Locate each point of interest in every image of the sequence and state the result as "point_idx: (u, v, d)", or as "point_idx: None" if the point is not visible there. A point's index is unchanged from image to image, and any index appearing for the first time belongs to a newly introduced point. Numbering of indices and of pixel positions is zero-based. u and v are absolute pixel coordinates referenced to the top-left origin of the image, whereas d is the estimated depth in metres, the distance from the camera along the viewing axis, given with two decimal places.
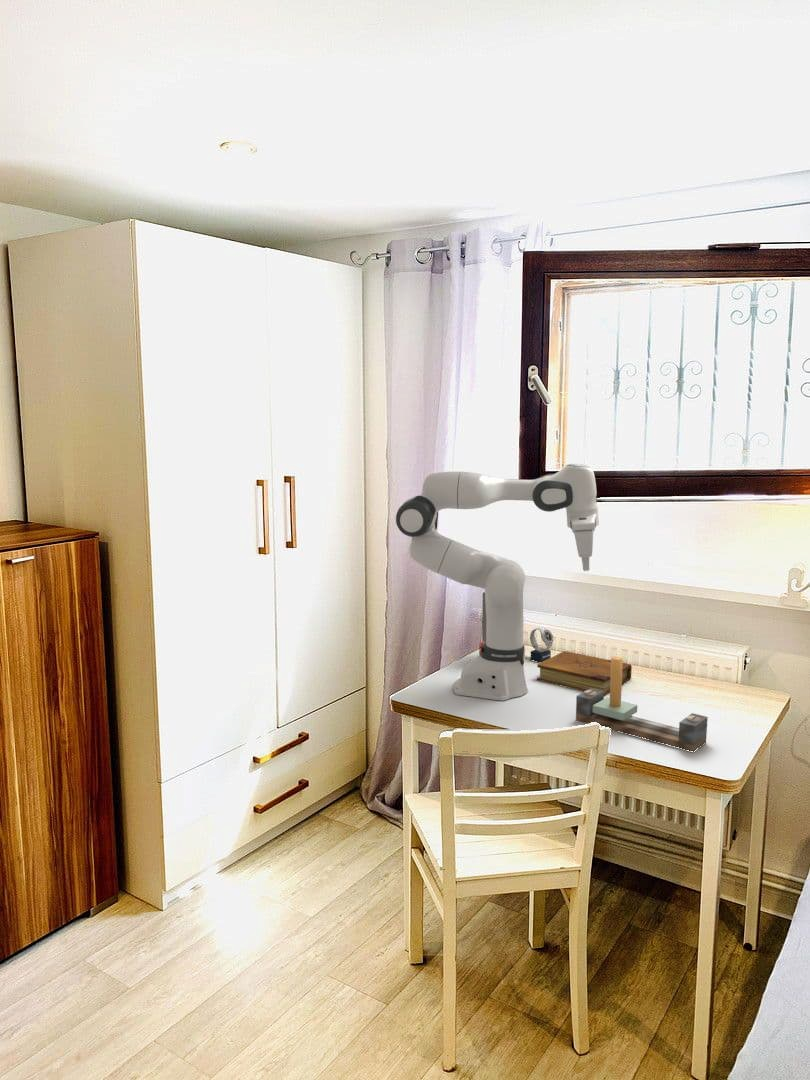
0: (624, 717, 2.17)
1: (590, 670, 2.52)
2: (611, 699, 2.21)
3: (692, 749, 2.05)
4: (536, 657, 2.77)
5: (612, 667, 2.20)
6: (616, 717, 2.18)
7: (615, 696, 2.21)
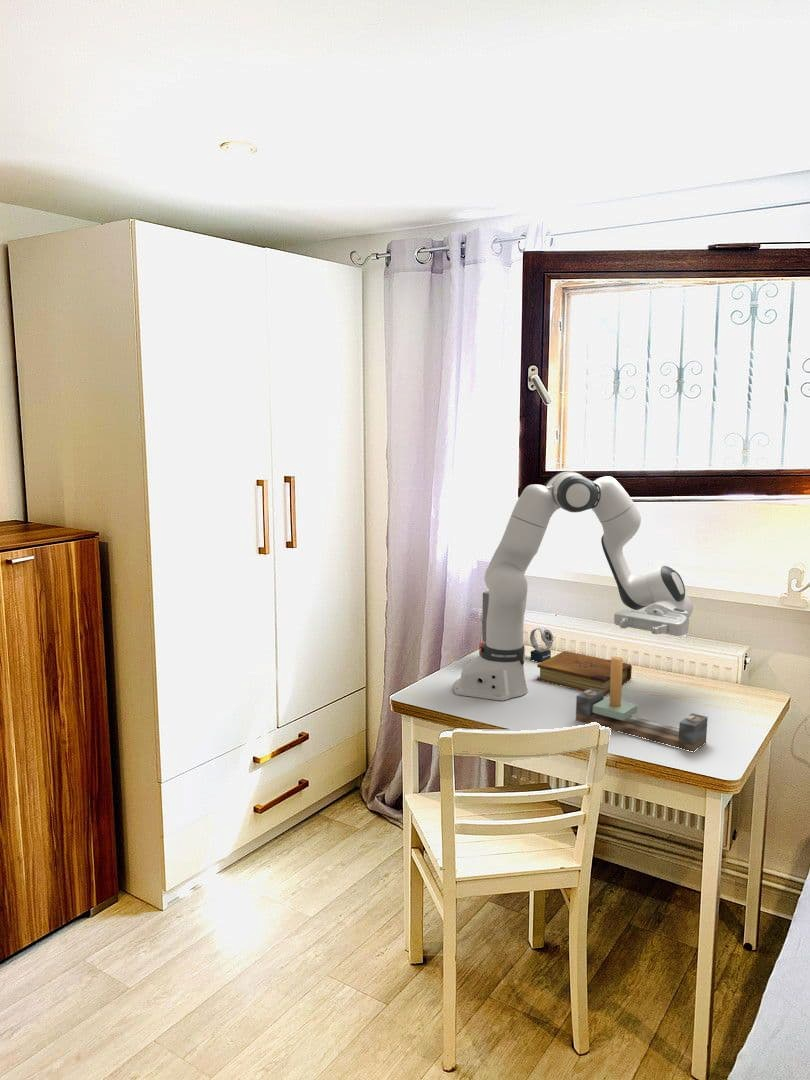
0: (624, 717, 2.17)
1: (590, 670, 2.52)
2: (611, 699, 2.21)
3: (692, 749, 2.05)
4: (536, 657, 2.77)
5: (612, 667, 2.20)
6: (616, 717, 2.18)
7: (615, 696, 2.21)
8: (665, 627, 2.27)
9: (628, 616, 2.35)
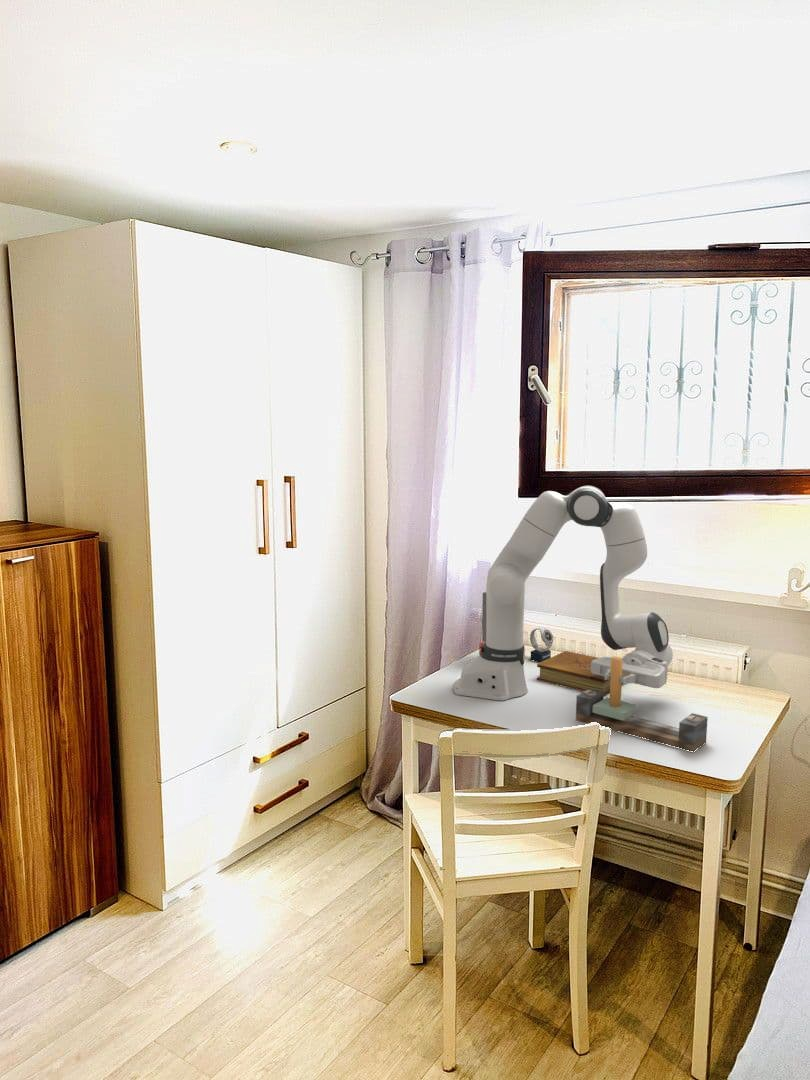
0: (624, 717, 2.17)
1: (590, 670, 2.52)
2: (611, 699, 2.21)
3: (692, 749, 2.05)
4: (536, 657, 2.77)
5: (612, 667, 2.20)
6: (616, 717, 2.18)
7: (615, 696, 2.21)
8: (633, 677, 2.20)
9: (605, 665, 2.27)
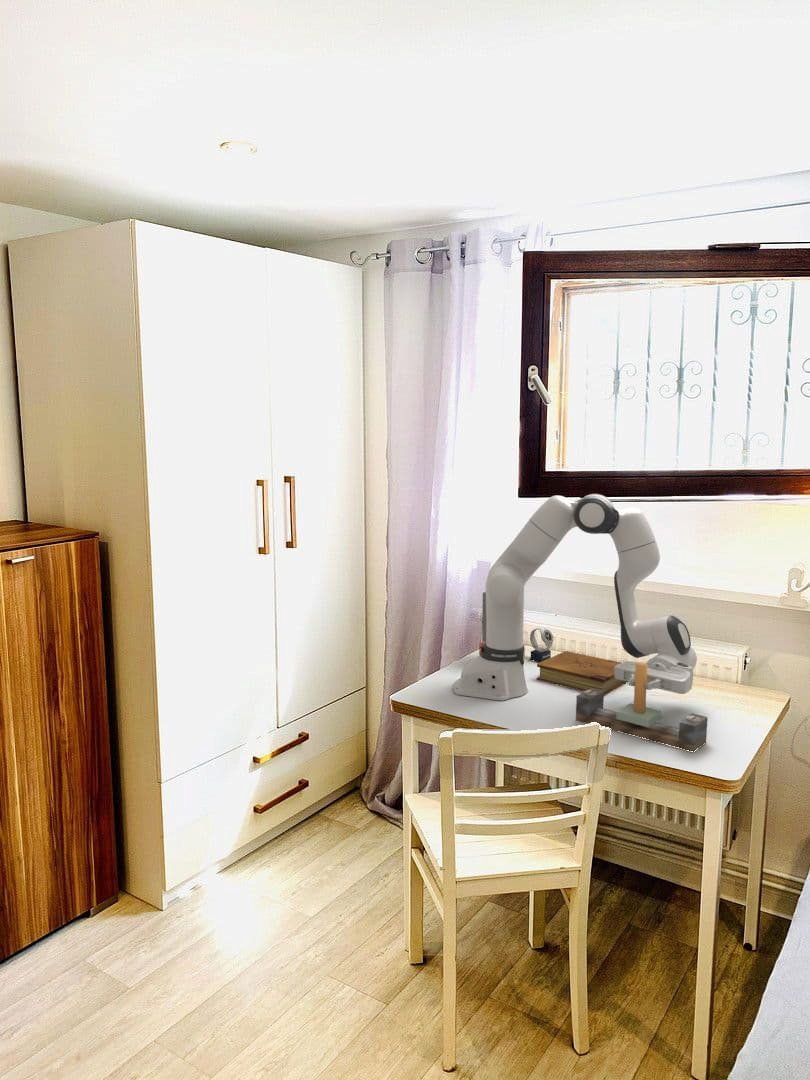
0: (649, 724, 2.13)
1: (590, 670, 2.52)
2: (635, 705, 2.17)
3: (692, 749, 2.05)
4: (536, 657, 2.77)
5: (637, 673, 2.15)
6: (641, 724, 2.14)
7: (639, 702, 2.16)
8: (658, 682, 2.16)
9: (629, 670, 2.23)
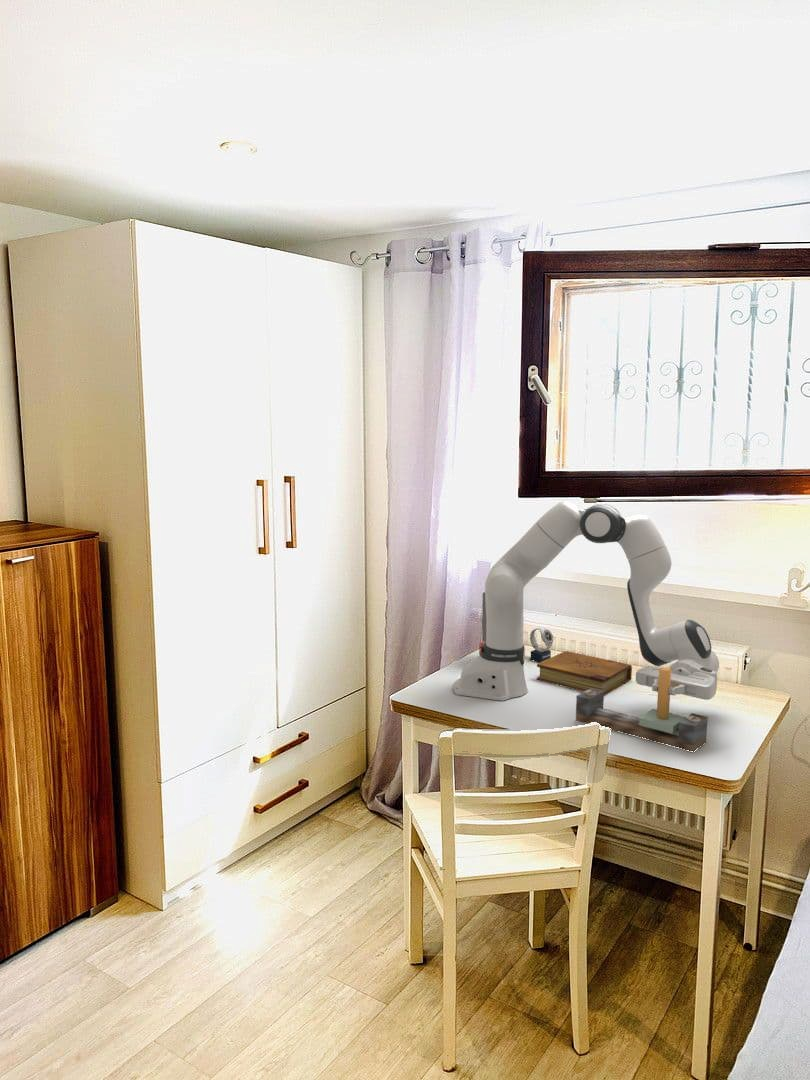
0: (673, 730, 2.08)
1: (590, 670, 2.52)
2: (659, 711, 2.13)
3: (692, 749, 2.05)
4: (536, 657, 2.77)
5: (660, 678, 2.11)
6: (665, 730, 2.09)
7: (663, 708, 2.12)
8: (682, 688, 2.12)
9: (651, 675, 2.19)
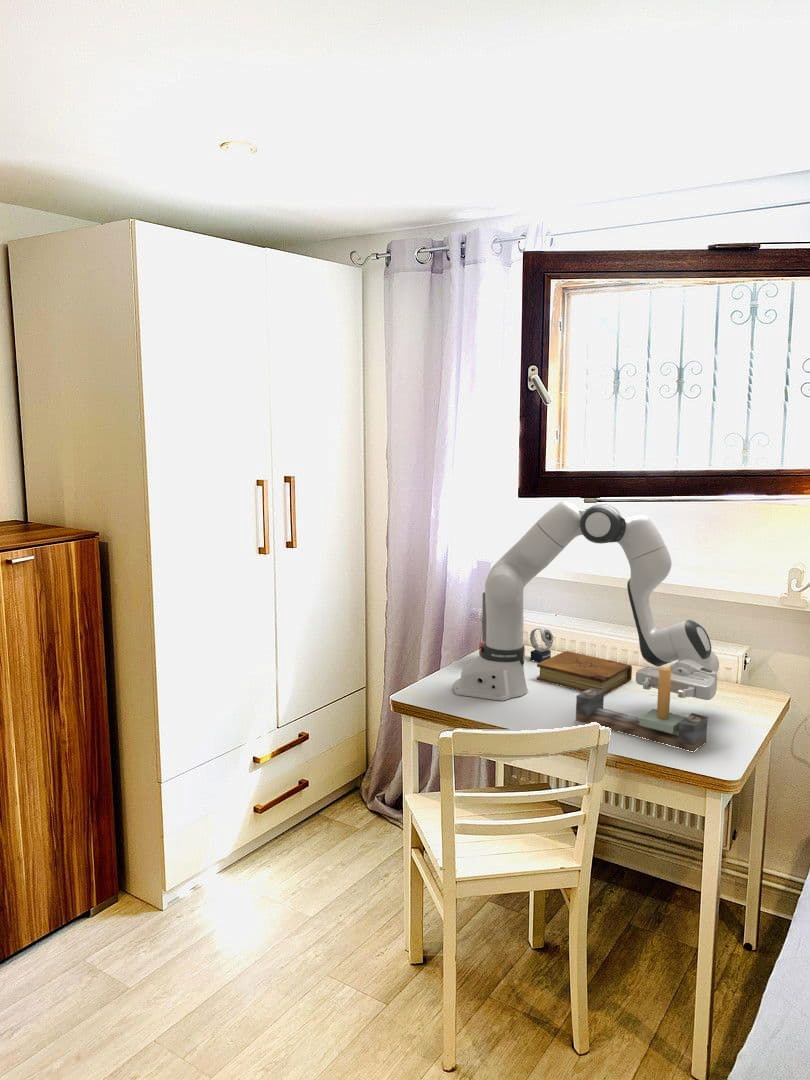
0: (673, 730, 2.08)
1: (589, 670, 2.52)
2: (659, 711, 2.13)
3: (692, 749, 2.05)
4: (536, 657, 2.77)
5: (660, 678, 2.11)
6: (665, 730, 2.09)
7: (663, 708, 2.12)
8: (692, 690, 2.10)
9: (651, 676, 2.19)
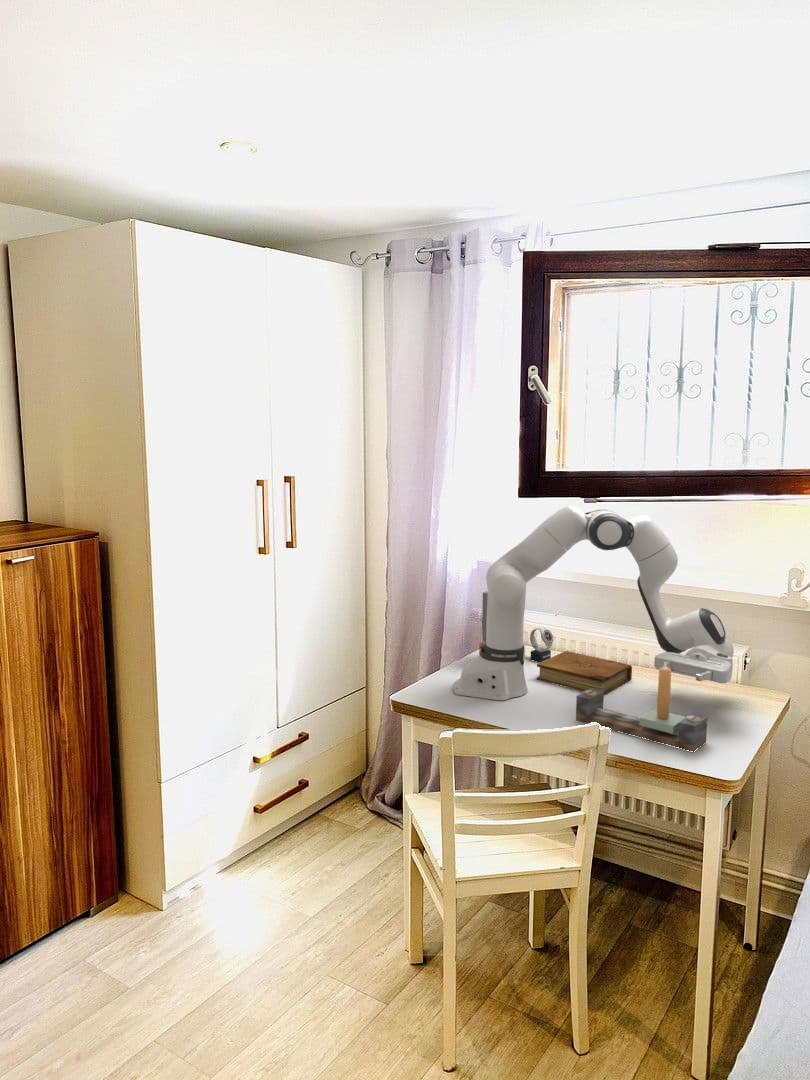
0: (673, 730, 2.08)
1: (589, 670, 2.52)
2: (659, 711, 2.13)
3: (692, 749, 2.05)
4: (536, 657, 2.77)
5: (660, 678, 2.11)
6: (665, 730, 2.09)
7: (663, 708, 2.12)
8: (709, 674, 2.20)
9: (670, 660, 2.28)
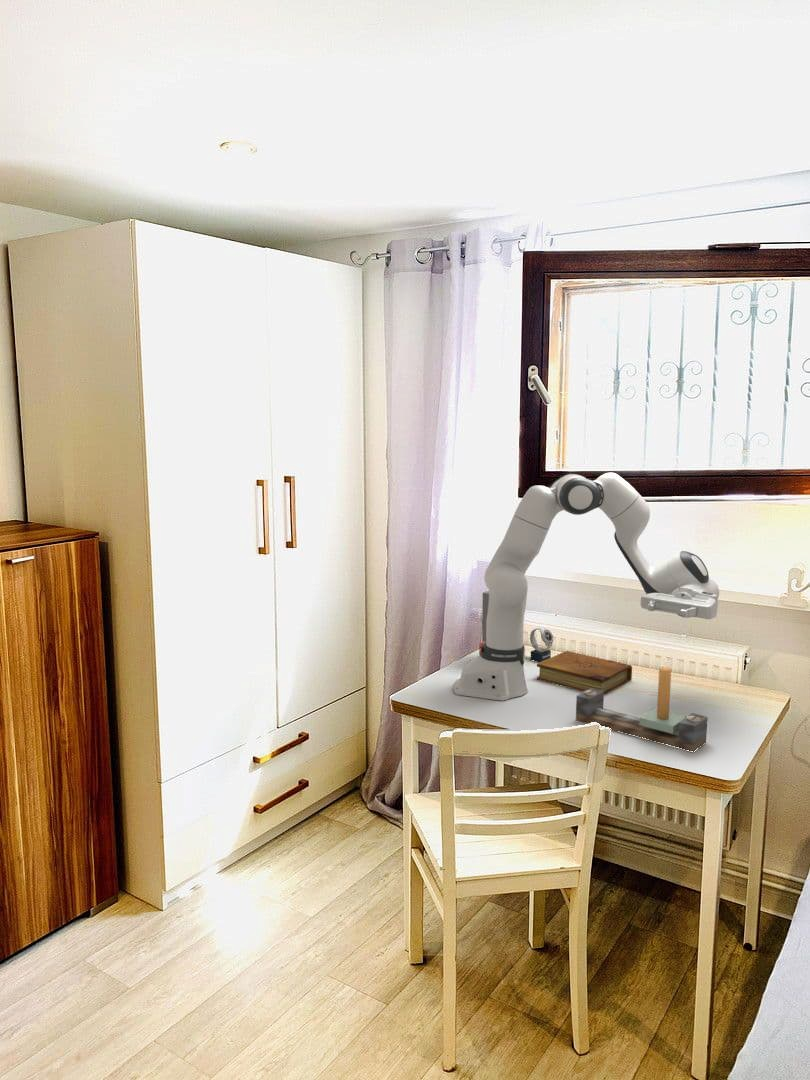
0: (673, 730, 2.08)
1: (589, 670, 2.52)
2: (659, 711, 2.13)
3: (692, 749, 2.05)
4: (536, 657, 2.77)
5: (660, 678, 2.11)
6: (665, 730, 2.09)
7: (663, 708, 2.12)
8: (694, 610, 2.23)
9: (655, 599, 2.31)
